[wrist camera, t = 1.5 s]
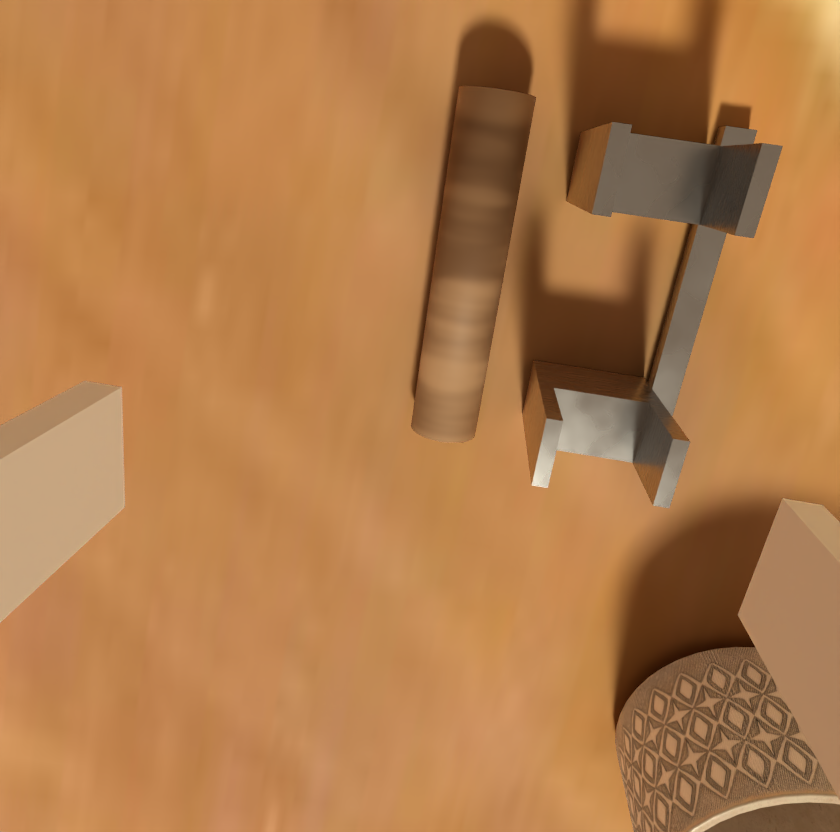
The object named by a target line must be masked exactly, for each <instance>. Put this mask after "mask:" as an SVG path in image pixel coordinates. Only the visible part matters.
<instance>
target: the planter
mask: <svg viewBox="0 0 840 832" xmlns="http://www.w3.org/2000/svg"><path fill="white" fill-rule="evenodd" d="M615 743H616V750H617V756H618V760H619V765H620V770H621V774H622V779H623V784H624V788H625V793H626V797H627V802H628V807H629V811H630V816H631V821H632V825H633V830H634V832H840V800H839V798H838V796H837V795H836V793H835V791H834V789H833V787H832V785H831V784H830V782H829V780H828V778H827V776H826V775H825V773H824V771H823V769H822V767H821V765H820V764H819V762H818V760H817V758H816V756H815V755H814V753H813V751H812V749H811V747H810V745H809V744H808V742H807V740H806V738H805V736H804V735H803V733H802V731H801V729H800V727H799V726H798V724H797V722H796V720H795V718H794V716H793V715H792V713H791V711H790V709H789V707H788V706H787V704H786V702H785V700H784V698H783V696H782V695H781V693H780V691H779V689H778V687H777V686H776V684H775V682H774V680H773V678H772V676H771V675H770V673H769V671H768V669H767V667H766V666H765V664H764V662H763V660H762V658H761V657H760V655H759V653H758V651H757V649H756V647H729V648H719V649H712V650H708V651H703V652H699V653H695V654H692V655H689V656H687V657H684V658H681V659H678V660H676V661H674V662H672V663H670V664H668V665H666V666H665V667H663V668H661V669H660V670H658V671H657V672H655V673H654V674H652V675H651V676H650V677H648V678H647V679H646V680H645V681H644V682H643V683H642V684H641V685H640V686H639V687H637V688H636V690H635V691H634V692H633V693H632V695H631V696H630V697H629V699H628V700H627V701H626V703H625V705H624V707H623V709H622V711H621V713H620V716H619V720H618V723H617V727H616V739H615Z"/></svg>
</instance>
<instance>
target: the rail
mask: <svg viewBox="0 0 840 832" xmlns="http://www.w3.org/2000/svg"><path fill="white" fill-rule="evenodd" d="M535 100H536V97H534V96H532V95H529V94H525V93H521V92H516V91H510V90H504V89H498V88H490V87H480V86H459V90H458V97H457V105H456V112H455V119H454V126H453V133H452V140H451V147H450V154H449V161H448V168H447V175H446V182H445V189H444V197H443V204H442V211H441V218H440V225H439V232H438V239H437V246H436V253H435V260H434V267H433V274H432V281H431V289H430V296H429V303H428V310H427V317H426V324H425V331H424V338H423V345H422V352H421V359H420V366H419V373H418V381H417V388H416V395H415V402H414V409H413V416H412V423H411V427H412V429H413V430H414V431H415V432H416V433H417V434H419V435H421V436H423V437H425V438H428V439H431V440H435V441H439V442H446V443H461V442H466V441H469V440H471V439H473V438H474V436H475V432H476V426H477V421H478V415H479V410H480V404H481V399H482V393H483V388H484V382H485V377H486V371H487V365H488V360H489V354H490V349H491V343H492V338H493V332H494V327H495V321H496V316H497V310H498V305H499V299H500V294H501V288H502V283H503V277H504V271H505V266H506V260H507V255H508V249H509V244H510V238H511V233H512V227H513V222H514V216H515V211H516V205H517V200H518V194H519V189H520V183H521V177H522V172H523V166H524V161H525V155H526V150H527V144H528V139H529V133H530V128H531V122H532V117H533V111H534V106H535Z"/></svg>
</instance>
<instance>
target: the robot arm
mask: <svg viewBox="0 0 840 832" xmlns="http://www.w3.org/2000/svg"><path fill="white" fill-rule="evenodd" d="M124 507H125V488H124V450H123V412H122V387H119V386H113V385H107V384H101V383H95V382H89V381H84V382H82V383H80V384H78V385H76V386H74V387H72V388H70V389H68V390H67V391H65V392H63V393H61V394H59V395H57V396H55V397H53V398H51V399H49V400H48V401H46V402H44V403H42V404H40V405H38V406H36V407H34V408H32V409H30V410H29V411H27V412H25V413H23V414H21V415H19V416H17V417H15V418H13V419H11V420H10V421H8V422H6V423H4V424H2V425H0V622H2V621H3V620H4V619H5V618H6V617H7V616H8V615H9V614H10V613H11V612H12V611H13V610H14V609H16V608H17V607H18V606H19V605H20V604H21V603H22V602H23V601H24V600H25V599H26V598H27V597H28V596H30V595H31V594H32V593H33V592H34V591H35V590H36V589H37V588H38V587H39V586H40V585H41V584H42V583H44V582H45V581H46V580H47V579H48V578H49V577H50V576H51V575H52V574H53V573H54V572H55V571H56V570H58V569H59V568H60V567H61V566H62V565H63V564H64V563H65V562H66V561H67V560H68V559H69V558H70V557H72V556H73V555H74V554H75V553H76V552H77V551H78V550H79V549H80V548H81V547H82V546H83V545H84V544H86V543H87V542H88V541H89V540H90V539H91V538H92V537H93V536H94V535H95V534H96V533H97V532H98V531H100V530H101V529H102V528H103V527H104V526H105V525H106V524H107V523H108V522H109V521H110V520H111V519H113V518H114V517H115V516H116V515H117V514H118V513H119V512H120V511H121V510H122V509H123V508H124ZM738 617H739V618H740V620H741V622H742V624H743V626H744V627H745V629H746V631H747V633H748V635H749V637H750V638H751V640H752V642H753V644H754V646H755V647H756V649H757V651H758V653H759V655H760V657H761V658H762V660H763V662H764V664H765V666H766V667H767V669H768V671H769V673H770V675H771V676H772V678H773V680H774V682H775V684H776V686H777V687H778V689H779V691H780V693H781V695H782V696H783V698H784V700H785V702H786V704H787V706H788V707H789V709H790V711H791V713H792V715H793V716H794V718H795V720H796V722H797V724H798V726H799V727H800V729H801V731H802V733H803V735H804V736H805V738H806V740H807V742H808V744H809V745H810V747H811V749H812V751H813V753H814V755H815V756H816V758H817V760H818V762H819V764H820V765H821V767H822V769H823V771H824V773H825V775H826V776H827V778H828V780H829V782H830V784H831V785H832V787H833V789H834V791H835V793H836V795H837V796H838V798H839V800H840V522H839V521H838V520H837V519H836V518H835V517H834V516H833V515H832V514H831V513H830V512H829V511H828V510H827V509H826V508H825V507H824V506H823V505H820V504H814V503H808V502H802V501H796V500H790V499H784V498H782V500H781V503H780V506H779V508H778V511H777V513H776V516H775V519H774V521H773V524H772V527H771V529H770V532H769V534H768V537H767V540H766V542H765V545H764V547H763V550H762V553H761V555H760V558H759V561H758V563H757V566H756V568H755V571H754V574H753V576H752V579H751V582H750V584H749V587H748V589H747V592H746V595H745V597H744V600H743V602H742V605H741V608H740V610H739V613H738Z"/></svg>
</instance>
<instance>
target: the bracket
mask: <svg viewBox="0 0 840 832" xmlns="http://www.w3.org/2000/svg"><path fill="white" fill-rule="evenodd" d="M631 128H632V125H630V124H623V123H616V122H611V123H608V124H605V125H601V126H598V127H595V128H592V129H589V130H586V131H583V132H581V133H580V138H579V142H578V147H577V152H576V157H575V162H574V167H573V171H572V176H571V181H570V186H569V191H568V196H567V200H566V201H567V202H569V203H571V204H573V205H575V206H577V207H579V208H581V209H583V210H585V211H587V212H589V213H591V214H594V215H601V216H608V217H611V214H612V212H616V213H623V214H630V215H636V216H643V217H650V218H657V219H664V220H670V221H677V222H684V223H691V224H692V225H691V228H690V232H689V235H688V239H687V243H686V246H685V250H684V253H683V257H682V261H681V264H680V268H679V272H678V275H677V279H676V282H675V286H674V290H673V293H672V297H671V300H670V304H669V308H668V311H667V315H666V318H665V322H664V326H663V329H662V333H661V336H660V340H659V344H658V347H657V351H656V354H655V358H654V362H653V365H652V369H651V373H650V376H649V380H648V382H647V381H646V380H645V378H644V377H638V376H632V375H625V374H619V373H613V372H606V371H600V370H594V369H587V368H581V367H575V366H568V365H562V364H556V363H549V362H543V361H537V360H533V365H532V369H531V374H530V379H529V384H528V389H527V394H526V398H525V403H524V408H523V413H522V416H523V423H524V431H525V438H526V446H527V454H528V461H529V469H530V477H531V484H532V485H533V486H539V487H545V488H548V485H549V480H550V476H551V472H552V467H553V463H554V459H555V455H556V450H559V451H565V452H571V453H577V454H583V455H589V456H596V457H602V458H608V459H614V460H620V461H626V462H632V463H633V465H634V467H635V469H636V471H637V473H638V475H639V477H640V479H641V481H642V483H643V486H644V488H645V490H646V492H647V494H648V496H649V498H650V500H651V502H652V504H653V506H659V507H665V508H670V504H671V501H672V498H673V495H674V492H675V488H676V485H677V482H678V479H679V476H680V472H681V469H682V466H683V463H684V460H685V456H686V453H687V450H688V447H689V444H690V441H689V439H688V438H687V437H686V435H685V434H684V432H683V431H682V430H681V428H680V427H679V425H678V424H677V423H676V421H675V420H674V419H673V417H672V415H673V412H674V409H675V405H676V402H677V399H678V395H679V392H680V388H681V385H682V382H683V378H684V375H685V372H686V368H687V365H688V362H689V358H690V355H691V352H692V348H693V345H694V341H695V338H696V335H697V331H698V328H699V325H700V321H701V318H702V315H703V311H704V308H705V304H706V301H707V298H708V294H709V291H710V288H711V284H712V281H713V278H714V274H715V271H716V267H717V264H718V261H719V257H720V254H721V251H722V247H723V244H724V241H725V237H726V234H727V233H729V234H732V235H736V236H743V237H749V238H754V236H755V233H756V230H757V227H758V223H759V220H760V217H761V214H762V211H763V207H764V204H765V201H766V198H767V195H768V191H769V188H770V185H771V182H772V179H773V175H774V172H775V169H776V166H777V163H778V159H779V156H780V153H781V150H782V147H783V146H778V145H771V144H764V143H759V144H753V143H754V140H755V136H756V133H757V130H752V129H745V128H738V127H730V126H722V127H718V131H717V134H716V138H715V142H714V145H711V144H704V143H697V142H690V141H683V140H676V139H669V138H661V137H654V136H647V135H640V134H633V133H630V132H631Z"/></svg>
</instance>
